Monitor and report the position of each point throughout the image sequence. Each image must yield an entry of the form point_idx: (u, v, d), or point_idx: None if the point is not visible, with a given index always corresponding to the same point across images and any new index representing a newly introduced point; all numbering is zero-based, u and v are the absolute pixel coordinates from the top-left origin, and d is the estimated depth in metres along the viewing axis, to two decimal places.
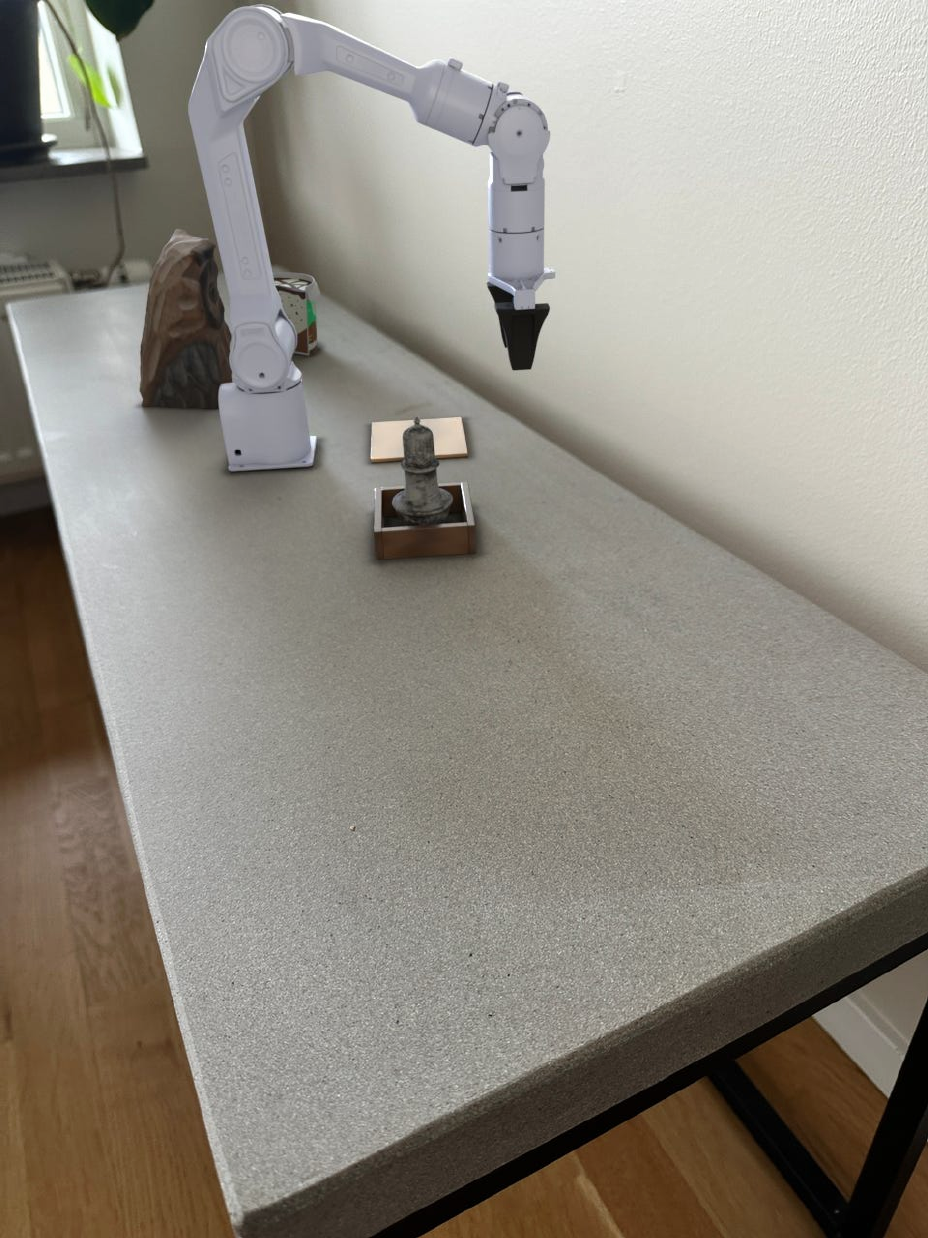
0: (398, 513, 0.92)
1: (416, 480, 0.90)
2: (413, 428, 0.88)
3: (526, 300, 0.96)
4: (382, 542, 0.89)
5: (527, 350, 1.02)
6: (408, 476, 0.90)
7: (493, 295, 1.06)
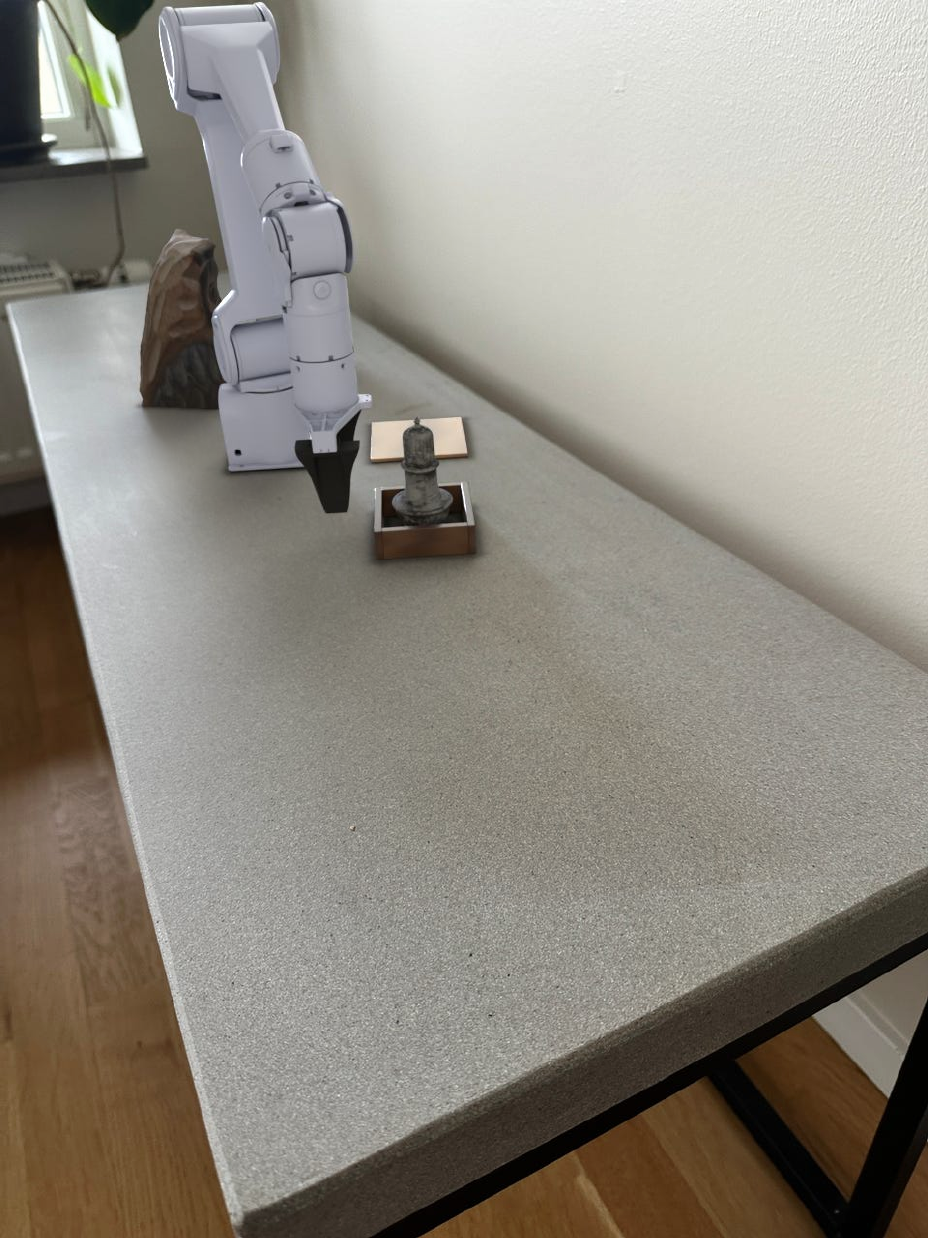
0: (398, 513, 0.92)
1: (416, 480, 0.90)
2: (413, 428, 0.88)
3: (325, 443, 0.81)
4: (382, 542, 0.89)
5: (340, 492, 0.87)
6: (408, 476, 0.90)
7: None
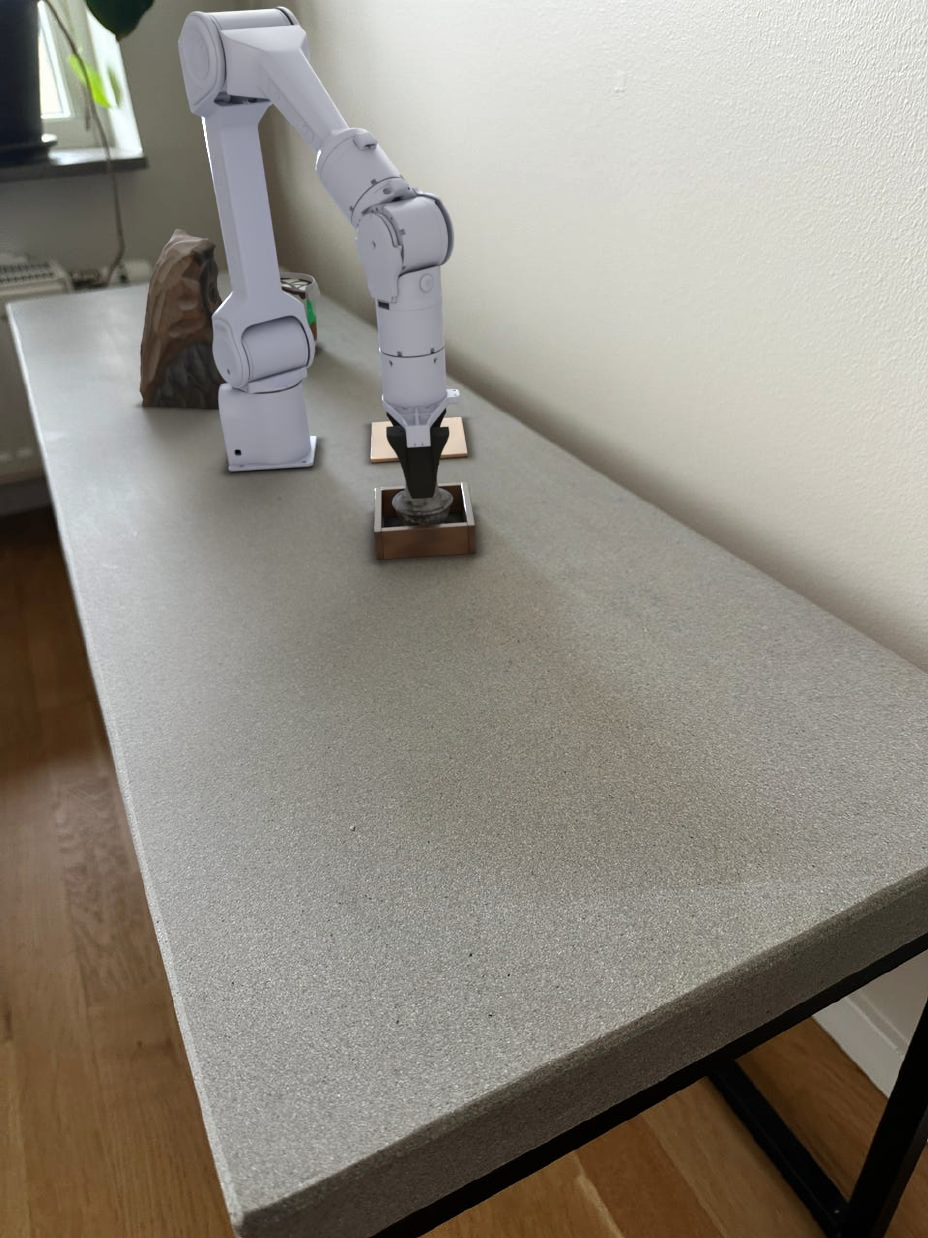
0: (398, 513, 0.92)
1: None
2: None
3: (419, 437, 0.81)
4: (382, 542, 0.89)
5: (427, 478, 0.89)
6: None
7: (393, 423, 0.90)
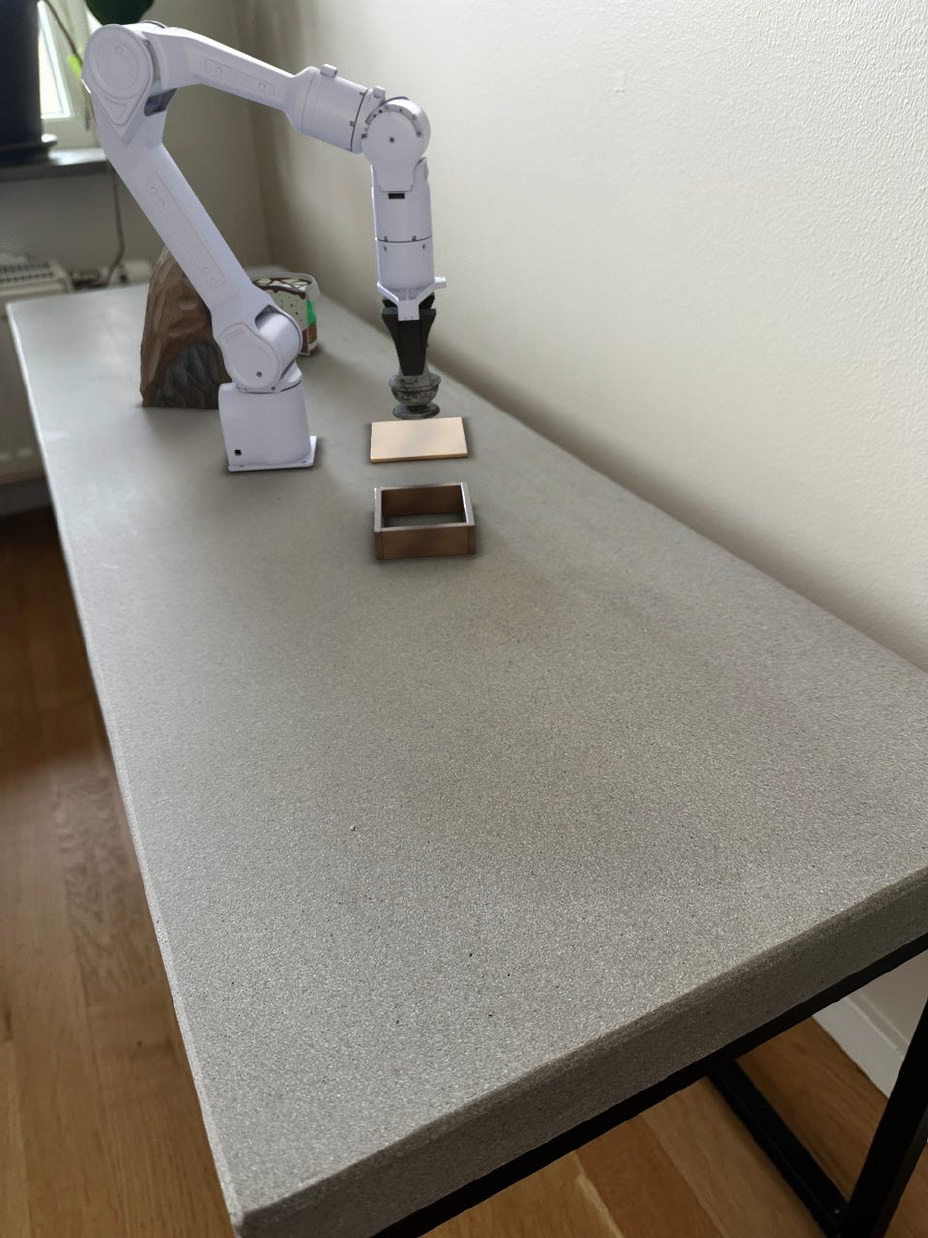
0: (392, 391, 1.04)
1: None
2: None
3: (409, 311, 0.93)
4: (382, 542, 0.89)
5: (417, 356, 1.01)
6: None
7: None
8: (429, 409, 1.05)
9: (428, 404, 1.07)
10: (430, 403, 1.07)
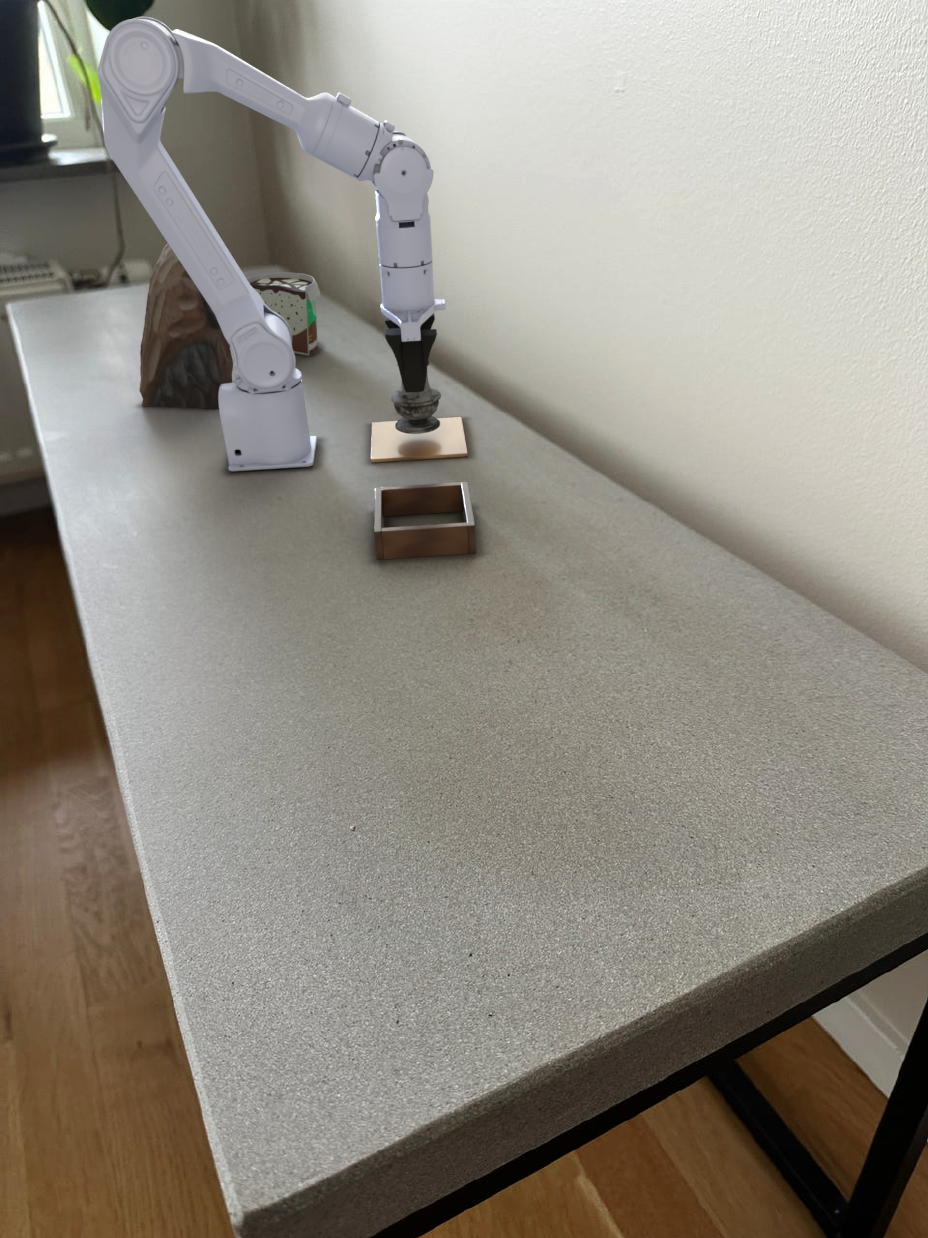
0: (395, 406, 1.10)
1: None
2: None
3: (411, 332, 0.99)
4: (382, 542, 0.89)
5: (418, 373, 1.07)
6: None
7: None
8: (430, 423, 1.11)
9: (429, 418, 1.13)
10: (431, 417, 1.13)
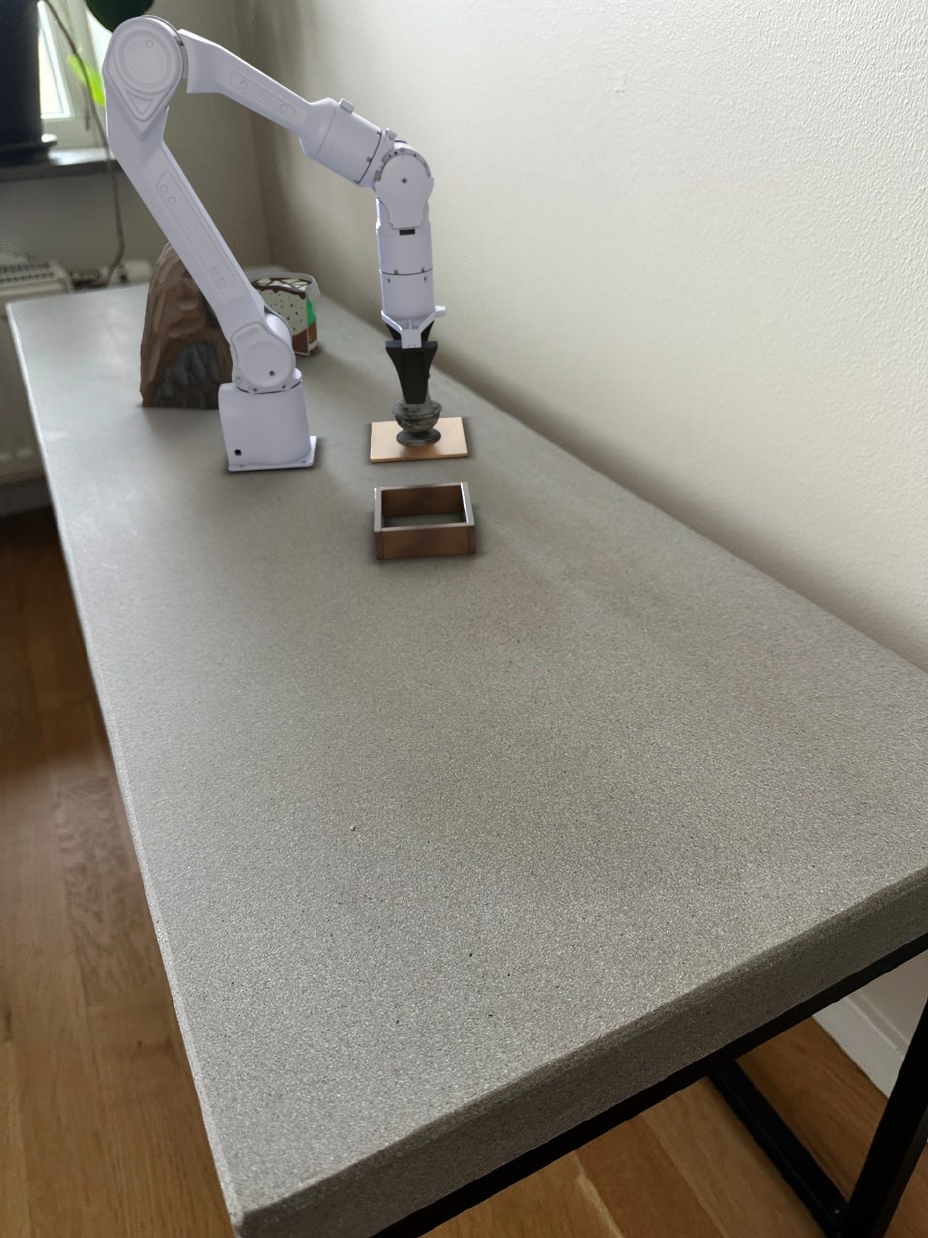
0: (396, 418, 1.11)
1: None
2: None
3: (412, 339, 1.00)
4: (382, 542, 0.89)
5: (419, 385, 1.05)
6: None
7: (391, 331, 1.10)
8: (431, 435, 1.12)
9: (429, 430, 1.14)
10: (431, 429, 1.14)
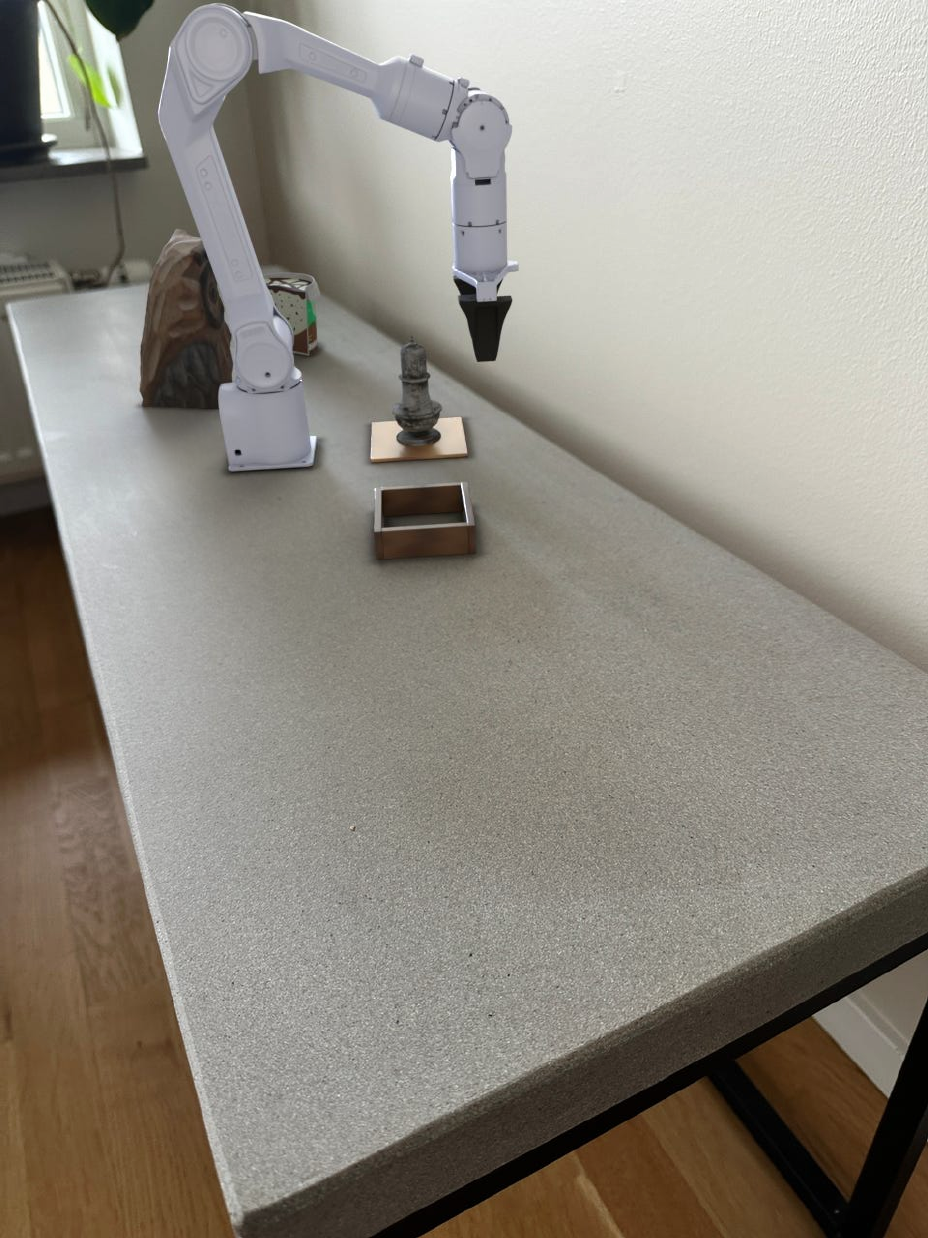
0: (396, 418, 1.11)
1: (411, 389, 1.09)
2: (409, 345, 1.07)
3: (488, 292, 0.98)
4: (382, 542, 0.89)
5: (491, 342, 1.03)
6: (404, 386, 1.09)
7: (459, 288, 1.08)
8: (431, 435, 1.12)
9: (429, 430, 1.14)
10: (431, 429, 1.14)
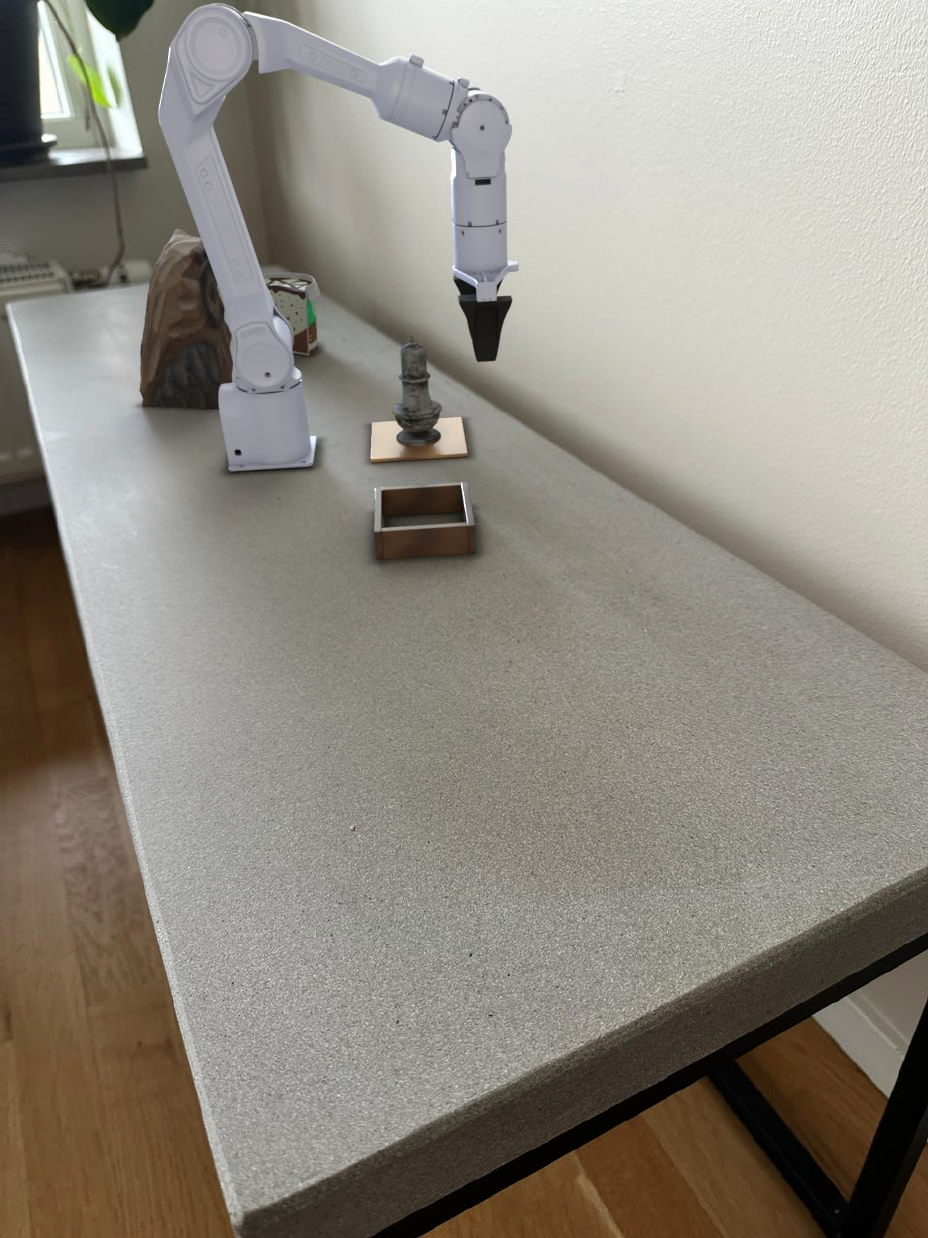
0: (396, 418, 1.11)
1: (411, 389, 1.09)
2: (409, 345, 1.07)
3: (488, 292, 0.98)
4: (382, 542, 0.89)
5: (491, 342, 1.03)
6: (404, 386, 1.09)
7: (459, 288, 1.08)
8: (431, 435, 1.12)
9: (429, 430, 1.14)
10: (431, 429, 1.14)
